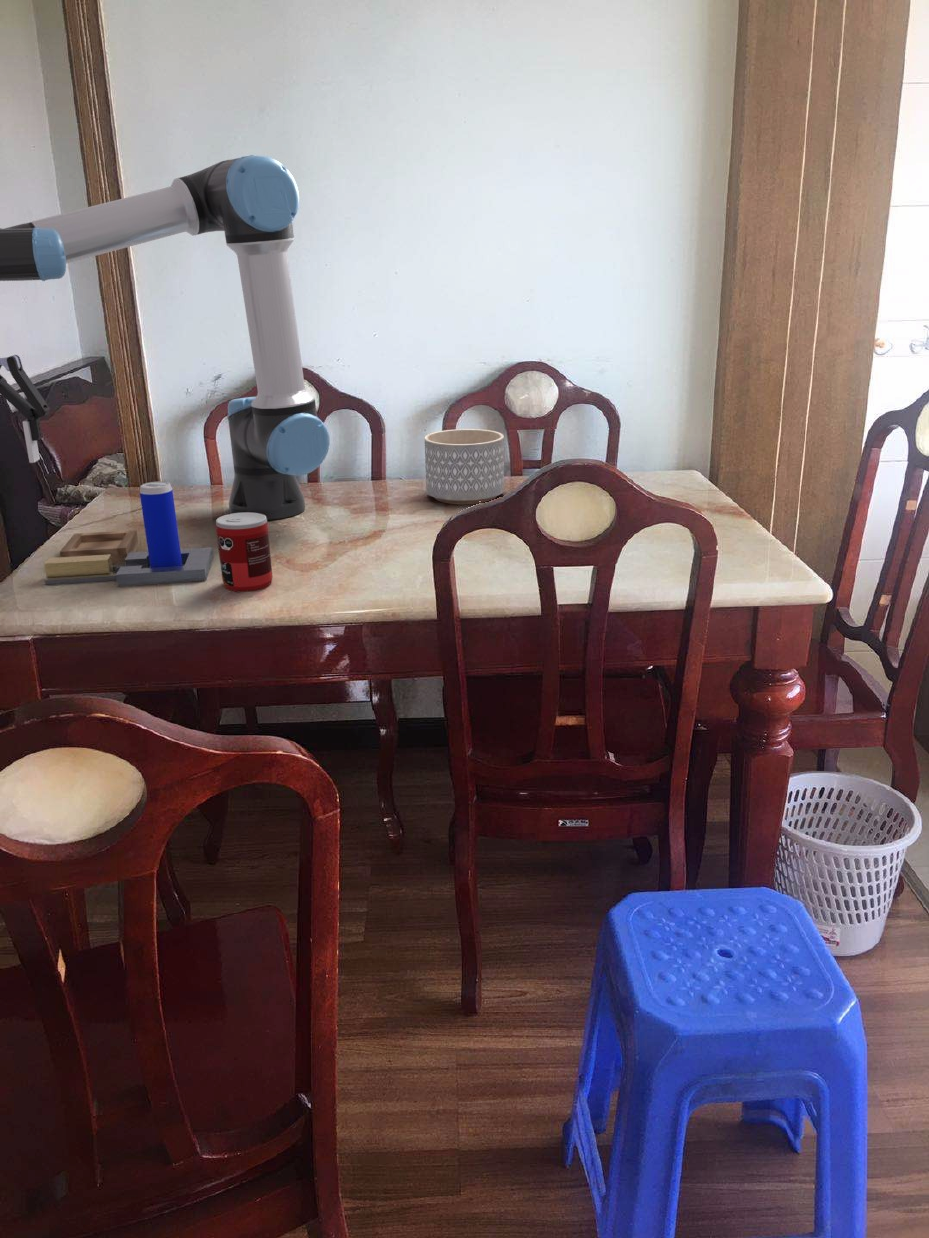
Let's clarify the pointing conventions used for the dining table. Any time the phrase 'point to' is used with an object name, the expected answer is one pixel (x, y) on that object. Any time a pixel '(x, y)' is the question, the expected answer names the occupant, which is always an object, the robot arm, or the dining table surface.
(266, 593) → the dining table surface
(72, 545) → the tray
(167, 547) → the beverage can
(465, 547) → the dining table surface
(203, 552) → the socket plate
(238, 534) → the canned food
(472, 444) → the planter
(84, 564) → the bar
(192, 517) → the dining table surface
